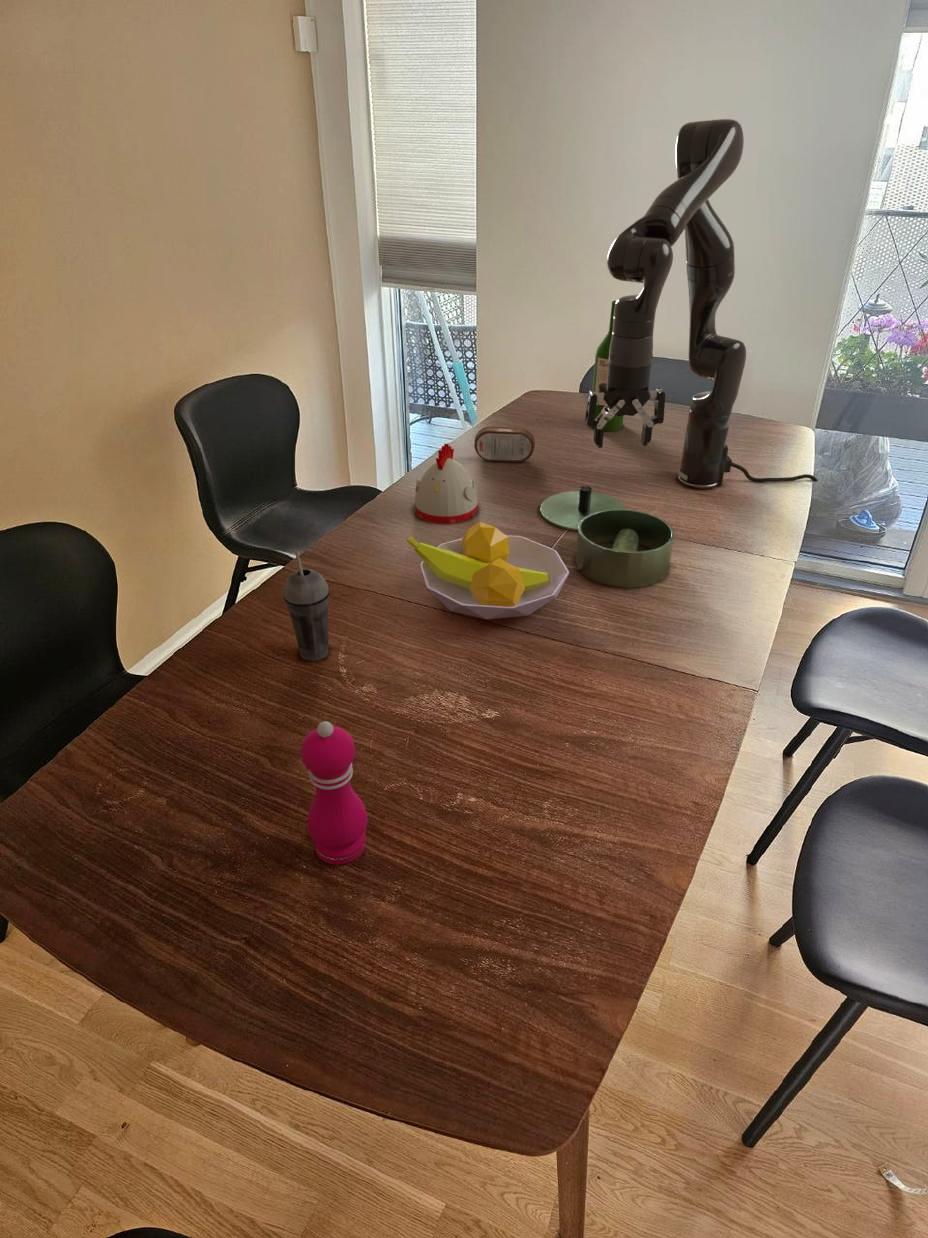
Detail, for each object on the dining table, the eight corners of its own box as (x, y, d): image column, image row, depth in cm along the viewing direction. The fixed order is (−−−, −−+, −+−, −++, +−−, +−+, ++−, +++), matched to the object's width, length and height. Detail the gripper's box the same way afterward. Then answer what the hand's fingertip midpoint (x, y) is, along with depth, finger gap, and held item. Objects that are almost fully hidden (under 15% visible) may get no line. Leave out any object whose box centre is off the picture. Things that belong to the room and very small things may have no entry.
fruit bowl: (583, 576, 154) (587, 523, 148) (532, 651, 134) (535, 594, 127) (451, 547, 164) (450, 496, 158) (385, 613, 143) (382, 558, 137)
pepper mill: (313, 825, 103) (294, 704, 91) (370, 821, 103) (358, 700, 92) (309, 871, 97) (288, 747, 85) (369, 866, 97) (356, 743, 86)
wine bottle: (585, 428, 219) (596, 303, 201) (594, 418, 226) (604, 296, 208) (618, 433, 216) (631, 306, 198) (625, 422, 223) (639, 299, 205)
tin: (534, 459, 202) (535, 426, 197) (533, 463, 199) (535, 431, 195) (474, 457, 203) (474, 424, 199) (473, 461, 201) (473, 429, 196)
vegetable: (629, 581, 151) (632, 557, 149) (602, 576, 153) (604, 553, 150) (640, 547, 162) (643, 525, 160) (615, 543, 164) (617, 521, 161)
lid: (617, 494, 184) (620, 469, 181) (635, 533, 168) (639, 506, 165) (535, 496, 184) (536, 471, 180) (545, 535, 168) (547, 508, 164)
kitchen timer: (405, 517, 175) (401, 452, 167) (429, 492, 186) (427, 429, 177) (465, 527, 171) (464, 461, 163) (485, 501, 182) (486, 437, 173)
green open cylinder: (656, 541, 166) (661, 508, 161) (679, 586, 151) (685, 551, 146) (569, 543, 165) (572, 510, 161) (583, 588, 150) (586, 553, 146)
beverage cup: (344, 644, 136) (332, 539, 124) (324, 669, 130) (310, 561, 119) (305, 636, 138) (290, 532, 126) (284, 660, 132) (266, 554, 121)
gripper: (664, 351, 146) (653, 436, 155) (586, 354, 146) (580, 439, 155) (675, 364, 140) (663, 451, 149) (594, 366, 140) (587, 454, 149)
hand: (621, 445), depth 152 cm, fingers open, 8 cm apart
